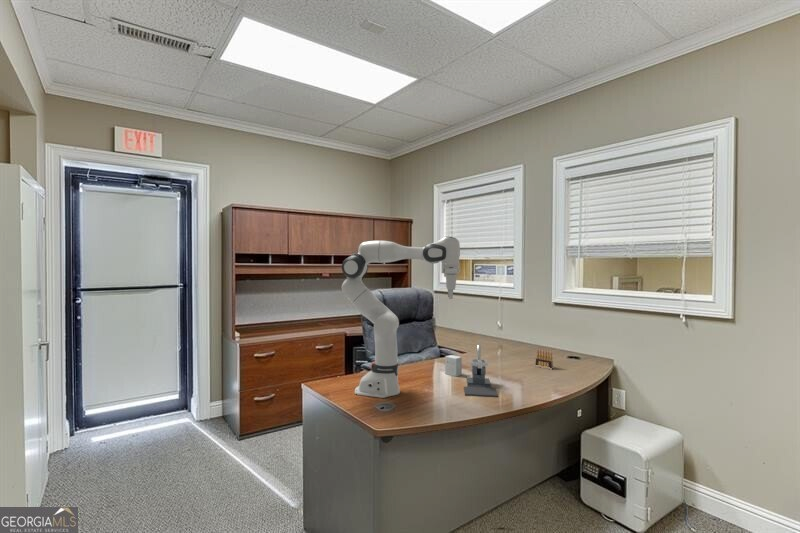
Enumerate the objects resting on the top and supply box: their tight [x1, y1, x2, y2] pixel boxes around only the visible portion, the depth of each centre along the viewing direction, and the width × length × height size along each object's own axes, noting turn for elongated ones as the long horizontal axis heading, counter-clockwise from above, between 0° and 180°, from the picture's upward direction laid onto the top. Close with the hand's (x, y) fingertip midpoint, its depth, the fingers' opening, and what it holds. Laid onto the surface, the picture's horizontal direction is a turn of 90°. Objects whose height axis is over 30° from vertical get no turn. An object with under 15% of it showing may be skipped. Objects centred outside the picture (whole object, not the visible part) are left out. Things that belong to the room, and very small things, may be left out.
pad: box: [463, 386, 499, 398], centre depth 202 cm, size 16×12×1 cm
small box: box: [444, 354, 463, 378], centre depth 234 cm, size 8×6×10 cm
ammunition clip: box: [535, 347, 554, 368], centre depth 254 cm, size 11×2×12 cm, turn 44°
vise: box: [466, 344, 492, 388], centre depth 216 cm, size 12×10×21 cm
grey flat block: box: [469, 358, 489, 368], centre depth 214 cm, size 9×14×3 cm, turn 173°
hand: (450, 298), depth 197 cm, fingers open, 8 cm apart
